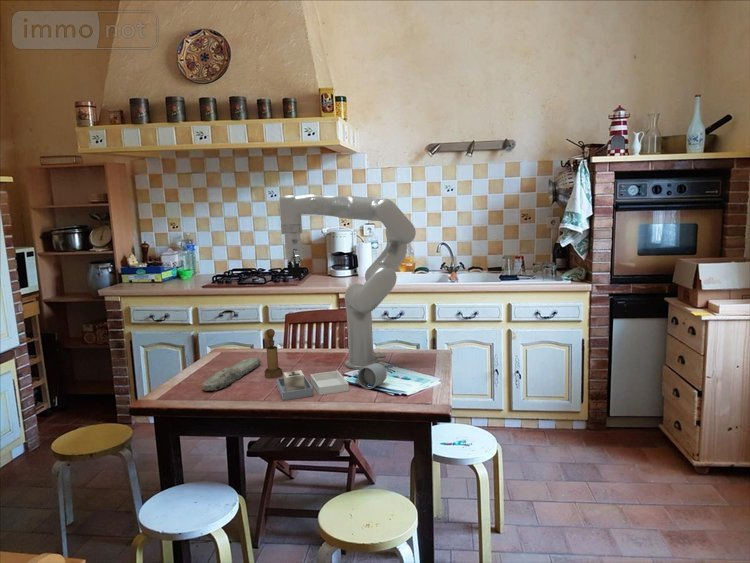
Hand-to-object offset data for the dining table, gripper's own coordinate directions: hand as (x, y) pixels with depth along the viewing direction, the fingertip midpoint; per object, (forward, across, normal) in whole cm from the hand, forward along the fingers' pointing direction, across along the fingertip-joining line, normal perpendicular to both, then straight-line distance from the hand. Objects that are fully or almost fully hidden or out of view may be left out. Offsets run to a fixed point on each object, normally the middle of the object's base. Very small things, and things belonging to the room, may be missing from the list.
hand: (294, 276), depth 205 cm
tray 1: (+37, -20, +6) cm, 42 cm away
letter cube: (+36, -20, +6) cm, 42 cm away
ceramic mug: (+37, -24, -20) cm, 48 cm away
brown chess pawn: (+37, 0, +10) cm, 38 cm away
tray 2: (+37, -20, -6) cm, 42 cm away
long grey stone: (+37, +6, +24) cm, 45 cm away
